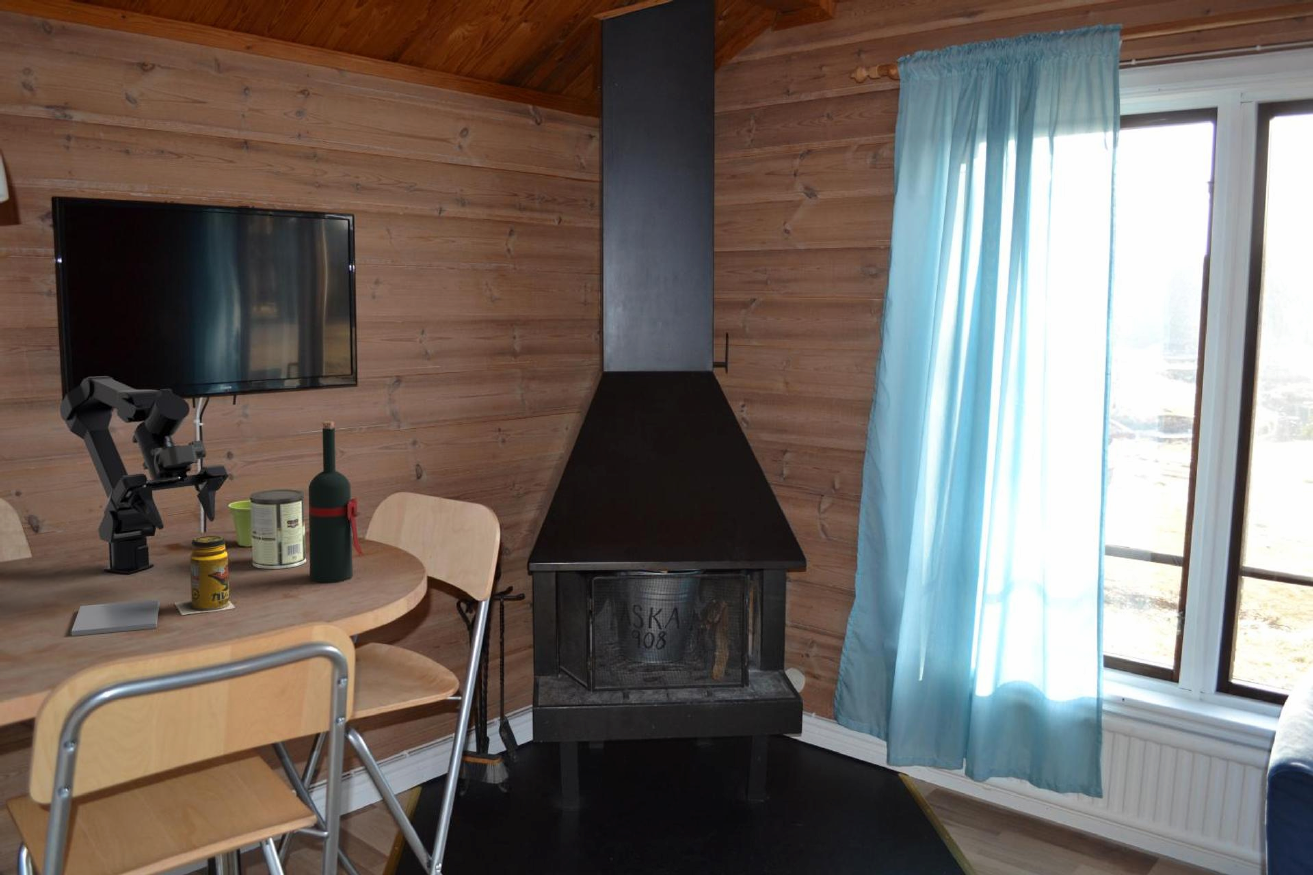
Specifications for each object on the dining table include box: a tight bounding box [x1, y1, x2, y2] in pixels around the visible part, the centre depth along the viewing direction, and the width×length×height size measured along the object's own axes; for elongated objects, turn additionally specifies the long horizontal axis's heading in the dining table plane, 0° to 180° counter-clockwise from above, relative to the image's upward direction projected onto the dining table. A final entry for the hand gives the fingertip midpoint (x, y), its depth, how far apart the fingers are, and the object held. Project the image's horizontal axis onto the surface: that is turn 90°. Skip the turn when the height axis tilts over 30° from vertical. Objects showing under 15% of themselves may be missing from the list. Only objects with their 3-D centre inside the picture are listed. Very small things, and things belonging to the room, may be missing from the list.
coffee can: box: [249, 488, 307, 570], centre depth 210 cm, size 10×10×14 cm
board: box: [71, 599, 160, 637], centre depth 174 cm, size 14×12×1 cm
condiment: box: [174, 535, 236, 616], centre depth 181 cm, size 7×8×12 cm
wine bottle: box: [308, 420, 365, 584], centre depth 199 cm, size 8×10×30 cm
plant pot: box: [227, 500, 252, 548], centre depth 225 cm, size 9×9×9 cm
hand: (187, 524), depth 186 cm, fingers open, 9 cm apart
